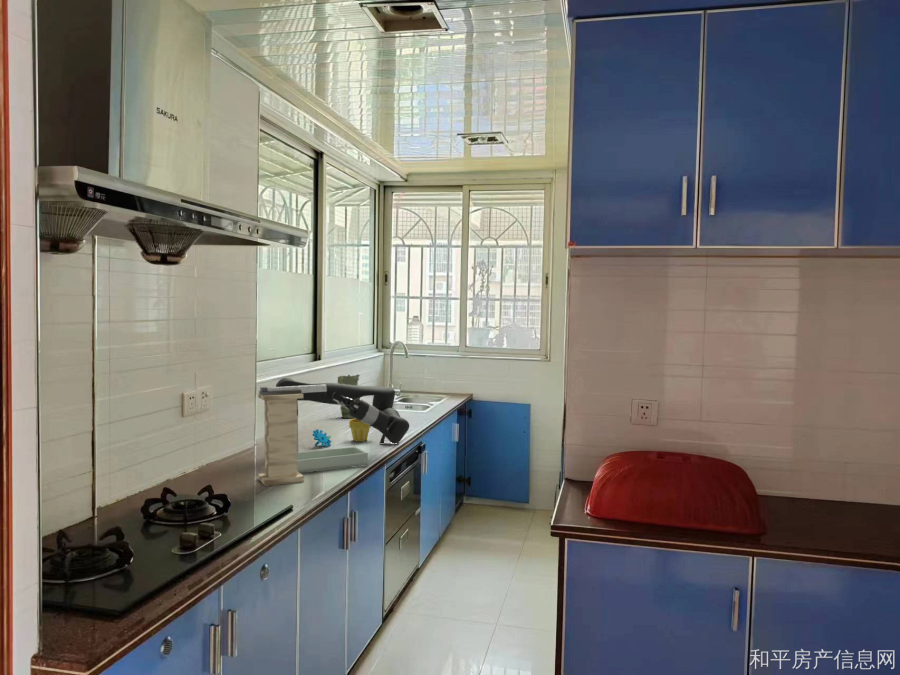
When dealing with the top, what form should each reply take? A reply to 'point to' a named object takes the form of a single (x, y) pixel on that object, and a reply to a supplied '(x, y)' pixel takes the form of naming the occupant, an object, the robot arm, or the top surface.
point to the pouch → (349, 381)
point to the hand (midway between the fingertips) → (329, 393)
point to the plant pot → (359, 430)
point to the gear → (321, 438)
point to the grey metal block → (296, 388)
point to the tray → (330, 459)
